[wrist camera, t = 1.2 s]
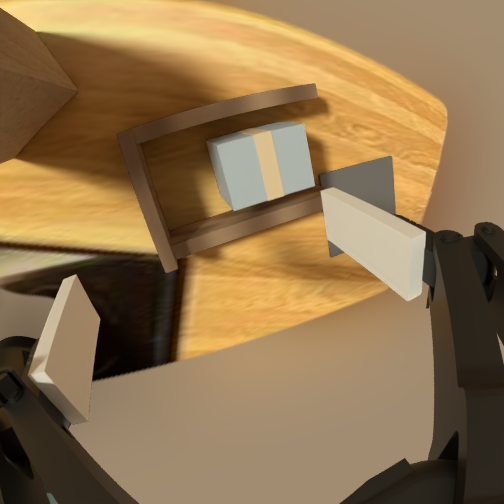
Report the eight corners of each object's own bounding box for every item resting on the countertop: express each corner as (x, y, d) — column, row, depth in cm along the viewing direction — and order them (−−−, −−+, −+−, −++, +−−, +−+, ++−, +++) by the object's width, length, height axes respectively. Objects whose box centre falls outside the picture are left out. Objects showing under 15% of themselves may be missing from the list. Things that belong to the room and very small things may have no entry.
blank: (220, 195, 33) (234, 211, 28) (205, 140, 30) (216, 144, 25) (289, 174, 34) (315, 186, 29) (278, 121, 31) (303, 123, 26)
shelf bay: (163, 247, 33) (165, 273, 28) (123, 131, 27) (116, 134, 22) (318, 196, 36) (345, 211, 31) (297, 85, 30) (325, 81, 25)
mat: (330, 256, 40) (331, 257, 40) (318, 174, 35) (320, 175, 35) (394, 231, 42) (395, 231, 42) (390, 155, 37) (391, 156, 37)
